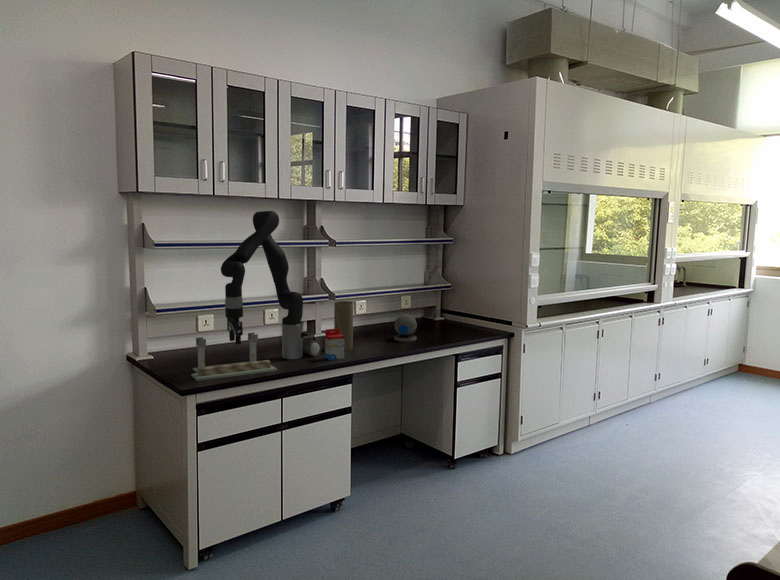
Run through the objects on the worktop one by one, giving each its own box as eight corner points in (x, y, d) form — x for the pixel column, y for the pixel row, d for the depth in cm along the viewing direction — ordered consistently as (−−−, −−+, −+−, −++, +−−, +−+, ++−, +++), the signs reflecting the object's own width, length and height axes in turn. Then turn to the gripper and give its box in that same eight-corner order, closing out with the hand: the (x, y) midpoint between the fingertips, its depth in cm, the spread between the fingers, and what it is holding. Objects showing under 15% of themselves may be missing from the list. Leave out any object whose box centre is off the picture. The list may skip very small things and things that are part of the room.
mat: (269, 366, 275) (269, 364, 275) (276, 370, 268) (276, 368, 268) (191, 376, 256) (191, 373, 256) (196, 381, 249) (196, 378, 249)
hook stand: (256, 362, 282) (256, 331, 280) (262, 366, 276) (261, 334, 274) (192, 370, 266) (191, 337, 265) (197, 374, 260) (196, 340, 258)
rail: (268, 366, 272) (267, 359, 271) (270, 367, 269) (270, 361, 269) (197, 374, 255) (197, 368, 254) (199, 376, 252) (199, 369, 252)
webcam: (418, 338, 348) (418, 313, 347) (413, 342, 336) (414, 316, 334) (397, 336, 351) (397, 312, 350) (391, 340, 339) (392, 315, 337)
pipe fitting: (323, 354, 300) (320, 334, 299) (311, 358, 294) (308, 338, 293) (307, 353, 308) (304, 334, 307) (295, 357, 302) (293, 337, 301)
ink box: (329, 360, 289) (329, 331, 287) (324, 358, 293) (324, 329, 291) (344, 358, 294) (344, 329, 292) (339, 356, 298) (339, 328, 296)
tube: (344, 345, 325) (344, 300, 322) (356, 348, 318) (356, 302, 315) (330, 348, 317) (330, 302, 314) (342, 351, 310) (343, 304, 308)
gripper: (247, 308, 254) (248, 344, 257) (237, 303, 266) (238, 338, 268) (230, 309, 250) (231, 346, 253) (220, 305, 262) (222, 340, 264)
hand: (235, 342), depth 261 cm, fingers open, 8 cm apart
